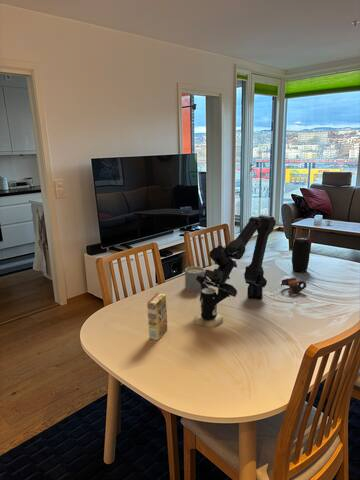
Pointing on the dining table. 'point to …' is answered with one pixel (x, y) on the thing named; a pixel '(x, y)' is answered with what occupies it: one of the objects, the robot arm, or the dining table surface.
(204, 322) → the disc
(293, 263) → the portable speaker
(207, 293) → the beverage can
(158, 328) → the candy box
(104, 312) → the dining table surface
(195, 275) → the coffee mug
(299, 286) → the pottery mug
